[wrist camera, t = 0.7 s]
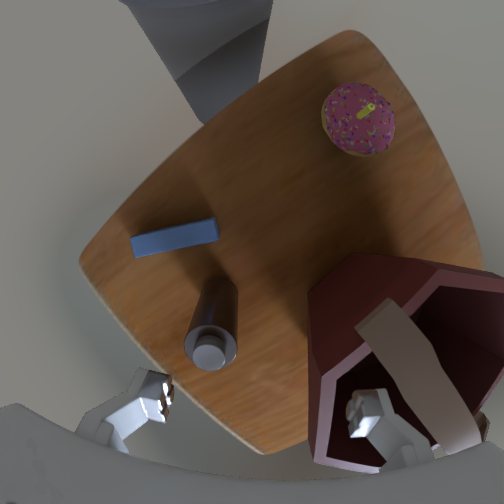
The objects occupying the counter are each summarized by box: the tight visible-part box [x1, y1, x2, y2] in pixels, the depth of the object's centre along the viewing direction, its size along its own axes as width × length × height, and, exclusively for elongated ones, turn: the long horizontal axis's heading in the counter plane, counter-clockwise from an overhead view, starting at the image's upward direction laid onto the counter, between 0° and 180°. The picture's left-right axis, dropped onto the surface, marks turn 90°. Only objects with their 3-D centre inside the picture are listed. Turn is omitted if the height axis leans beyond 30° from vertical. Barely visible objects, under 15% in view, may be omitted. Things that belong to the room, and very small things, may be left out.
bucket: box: [308, 253, 504, 474], centre depth 23 cm, size 24×22×25 cm
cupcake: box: [321, 82, 395, 157], centre depth 24 cm, size 9×8×12 cm
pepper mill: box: [184, 278, 238, 371], centre depth 27 cm, size 4×4×14 cm
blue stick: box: [130, 217, 220, 258], centre depth 31 cm, size 10×2×2 cm, turn 101°
